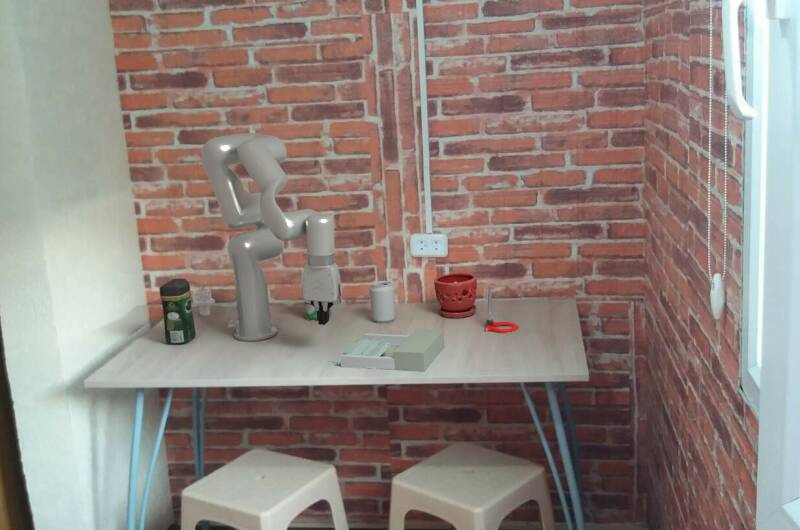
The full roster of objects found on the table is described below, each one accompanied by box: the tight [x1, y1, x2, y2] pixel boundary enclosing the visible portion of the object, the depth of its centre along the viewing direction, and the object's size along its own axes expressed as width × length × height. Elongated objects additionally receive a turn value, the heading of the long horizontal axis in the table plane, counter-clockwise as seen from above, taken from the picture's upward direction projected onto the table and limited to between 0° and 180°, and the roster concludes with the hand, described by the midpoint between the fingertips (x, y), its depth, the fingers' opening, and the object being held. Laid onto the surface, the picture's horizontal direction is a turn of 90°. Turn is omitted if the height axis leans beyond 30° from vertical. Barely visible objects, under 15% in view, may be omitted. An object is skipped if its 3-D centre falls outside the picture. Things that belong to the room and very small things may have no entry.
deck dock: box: [339, 328, 445, 372], centre depth 246 cm, size 23×20×5 cm
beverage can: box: [303, 300, 332, 322], centre depth 287 cm, size 8×8×12 cm
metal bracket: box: [328, 335, 391, 370], centre depth 246 cm, size 14×6×15 cm
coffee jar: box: [159, 278, 197, 346], centre depth 270 cm, size 10×8×19 cm
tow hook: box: [484, 285, 519, 334], centre depth 264 cm, size 8×13×9 cm
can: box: [369, 280, 397, 324], centre depth 280 cm, size 8×8×12 cm
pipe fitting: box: [192, 288, 216, 317], centre depth 299 cm, size 6×7×8 cm
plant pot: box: [433, 272, 478, 319], centre depth 282 cm, size 13×13×12 cm
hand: (323, 323), depth 251 cm, fingers closed
